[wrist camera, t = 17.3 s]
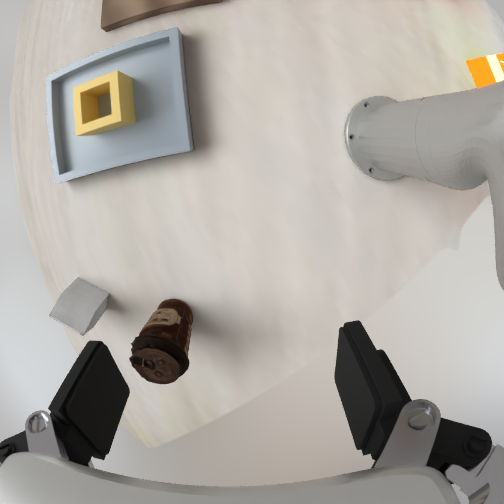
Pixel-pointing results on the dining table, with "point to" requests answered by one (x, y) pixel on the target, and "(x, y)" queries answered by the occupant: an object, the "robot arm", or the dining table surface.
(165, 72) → the tray
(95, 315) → the grey house shaped block
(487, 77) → the orange juice
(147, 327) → the coffee cup
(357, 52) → the dining table surface
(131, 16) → the board
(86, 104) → the collar
